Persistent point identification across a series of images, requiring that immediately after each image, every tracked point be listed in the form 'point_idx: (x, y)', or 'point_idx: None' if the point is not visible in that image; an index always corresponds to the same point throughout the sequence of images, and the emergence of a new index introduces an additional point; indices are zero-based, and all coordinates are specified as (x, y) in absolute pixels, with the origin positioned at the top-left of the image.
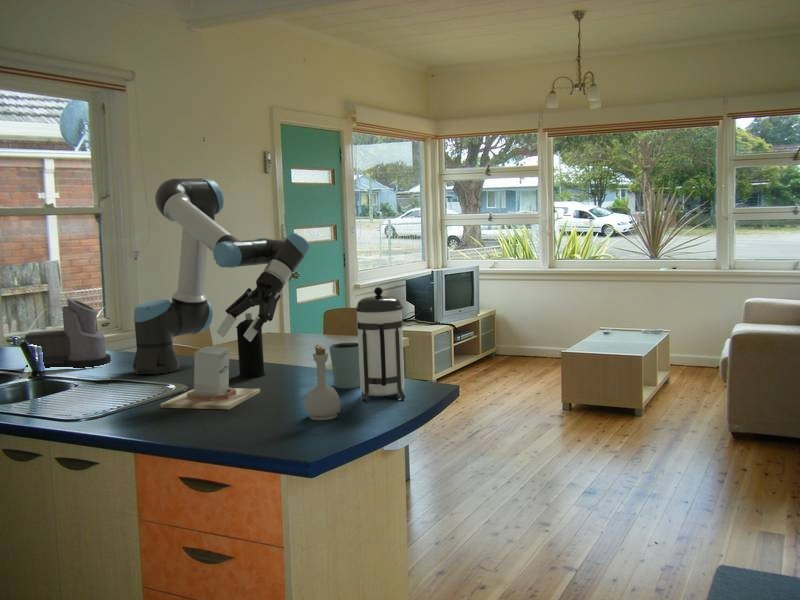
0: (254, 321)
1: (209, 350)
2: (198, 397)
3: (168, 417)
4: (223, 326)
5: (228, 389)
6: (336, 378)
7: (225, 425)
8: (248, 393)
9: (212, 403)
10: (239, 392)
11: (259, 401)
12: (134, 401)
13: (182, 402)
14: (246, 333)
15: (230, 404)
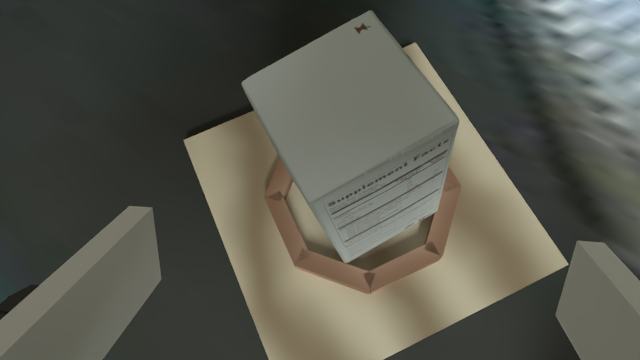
0: (18, 308)
1: (336, 76)
2: None
3: (283, 5)
4: (611, 310)
5: (344, 263)
6: None
7: (63, 36)
8: (262, 307)
9: (259, 129)
10: (314, 300)
11: (168, 280)
12: (579, 51)
13: None
14: (116, 218)
15: (188, 152)
